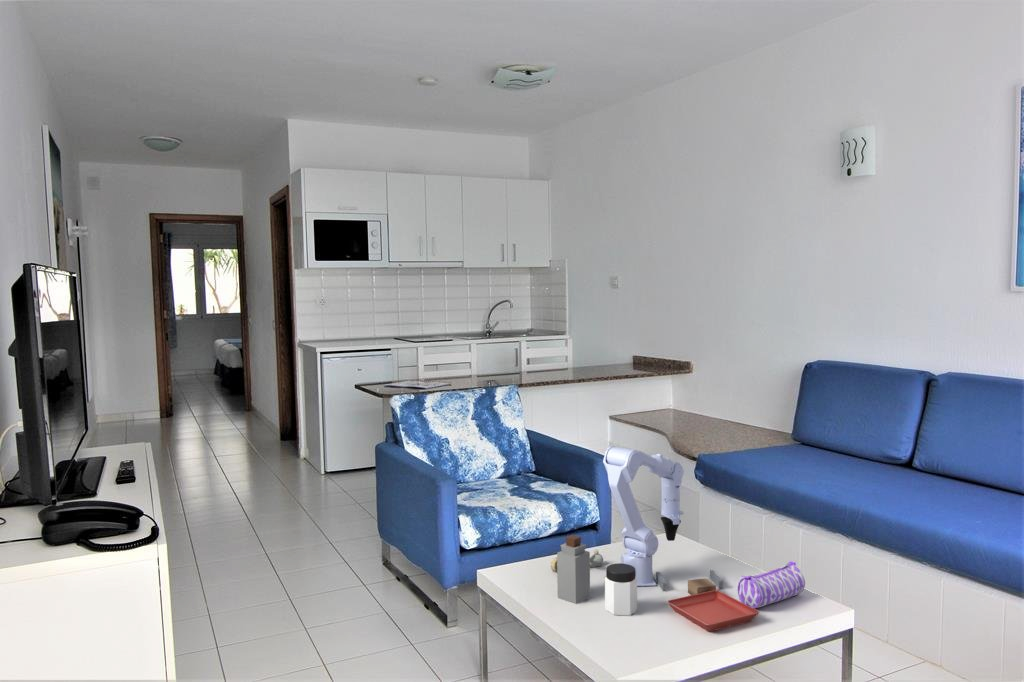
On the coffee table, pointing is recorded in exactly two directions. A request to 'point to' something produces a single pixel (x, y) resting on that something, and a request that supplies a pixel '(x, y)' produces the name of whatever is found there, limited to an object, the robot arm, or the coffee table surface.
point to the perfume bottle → (573, 570)
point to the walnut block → (700, 586)
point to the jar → (620, 589)
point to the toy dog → (594, 561)
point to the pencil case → (771, 586)
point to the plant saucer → (713, 610)
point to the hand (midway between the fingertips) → (670, 540)
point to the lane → (713, 577)
